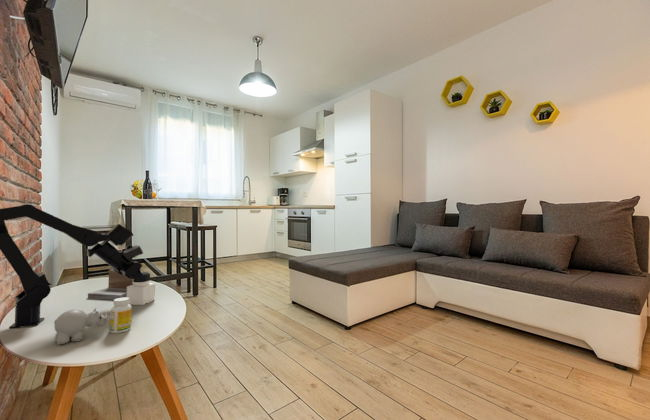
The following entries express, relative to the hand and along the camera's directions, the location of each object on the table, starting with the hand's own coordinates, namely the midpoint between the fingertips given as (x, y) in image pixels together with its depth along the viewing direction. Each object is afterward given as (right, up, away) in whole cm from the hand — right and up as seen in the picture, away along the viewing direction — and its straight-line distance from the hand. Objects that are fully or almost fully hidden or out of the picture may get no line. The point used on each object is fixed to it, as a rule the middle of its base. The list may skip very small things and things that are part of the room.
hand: (142, 279), depth 119 cm
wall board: (-17, -9, +8) cm, 21 cm away
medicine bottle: (0, -9, 0) cm, 9 cm away
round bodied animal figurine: (+4, -9, -34) cm, 36 cm away
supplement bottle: (+11, -9, -28) cm, 32 cm away
